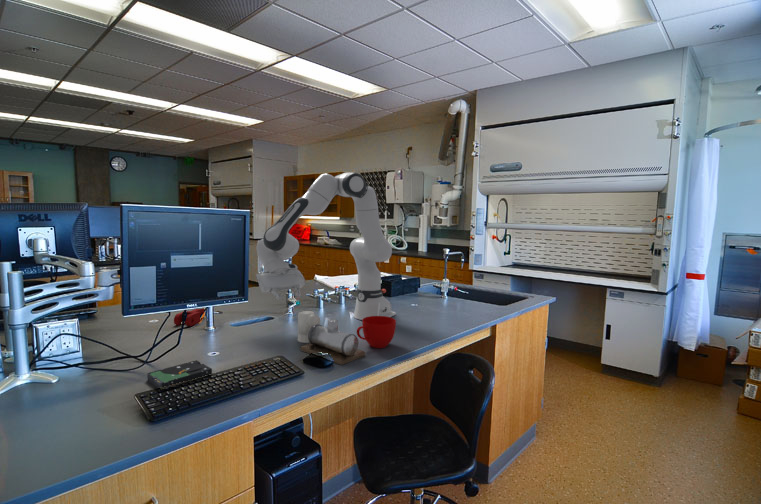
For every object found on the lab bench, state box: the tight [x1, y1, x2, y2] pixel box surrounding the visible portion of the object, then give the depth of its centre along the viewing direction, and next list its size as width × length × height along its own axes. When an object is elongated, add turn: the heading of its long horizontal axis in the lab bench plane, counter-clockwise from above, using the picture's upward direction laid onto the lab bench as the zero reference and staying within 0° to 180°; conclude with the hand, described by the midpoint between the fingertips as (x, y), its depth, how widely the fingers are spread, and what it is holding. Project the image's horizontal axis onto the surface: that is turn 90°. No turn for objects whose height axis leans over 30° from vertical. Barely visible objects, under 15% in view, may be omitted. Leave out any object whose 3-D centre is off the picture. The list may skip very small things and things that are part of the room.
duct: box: [300, 318, 366, 366], centre depth 143 cm, size 12×21×12 cm, turn 51°
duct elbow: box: [297, 310, 321, 344], centre depth 156 cm, size 6×9×11 cm
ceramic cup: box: [356, 316, 397, 349], centre depth 152 cm, size 13×17×10 cm
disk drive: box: [146, 359, 213, 389], centre depth 119 cm, size 10×3×15 cm
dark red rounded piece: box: [173, 308, 205, 327], centre depth 178 cm, size 16×7×5 cm, turn 172°
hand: (289, 297), depth 164 cm, fingers open, 8 cm apart
